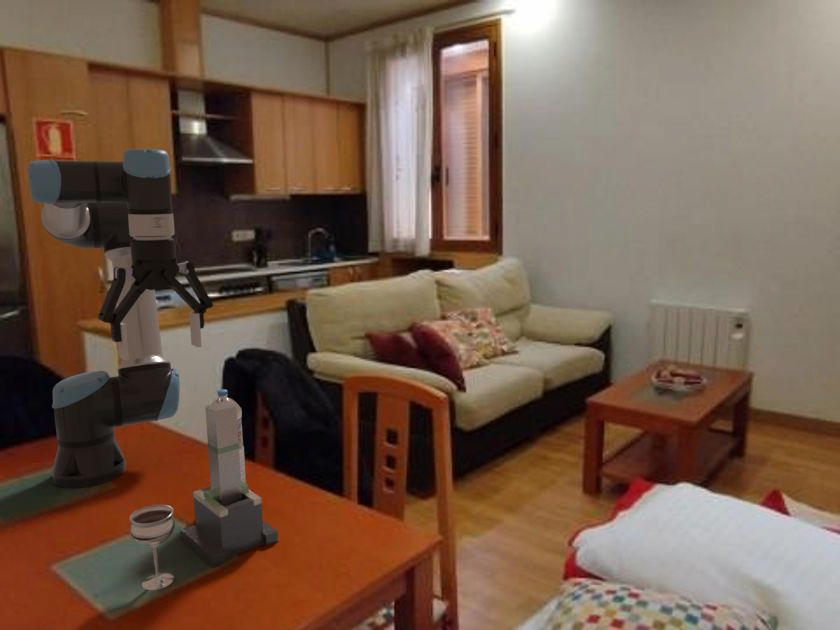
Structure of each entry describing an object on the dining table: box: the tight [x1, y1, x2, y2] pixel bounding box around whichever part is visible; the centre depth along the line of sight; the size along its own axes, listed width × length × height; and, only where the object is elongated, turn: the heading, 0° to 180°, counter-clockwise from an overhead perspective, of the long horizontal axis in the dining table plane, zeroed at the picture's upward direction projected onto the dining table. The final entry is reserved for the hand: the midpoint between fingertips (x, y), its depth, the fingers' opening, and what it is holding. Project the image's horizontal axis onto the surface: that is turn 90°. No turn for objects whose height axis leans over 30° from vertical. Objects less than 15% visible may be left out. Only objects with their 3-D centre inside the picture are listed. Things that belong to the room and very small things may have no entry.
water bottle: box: [211, 388, 247, 484], centre depth 131 cm, size 7×7×25 cm
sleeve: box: [180, 485, 279, 568], centre depth 120 cm, size 13×13×9 cm
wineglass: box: [129, 504, 176, 591], centre depth 107 cm, size 7×7×12 cm
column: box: [204, 401, 250, 507], centre depth 118 cm, size 7×4×20 cm, turn 132°
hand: (161, 352), depth 121 cm, fingers open, 13 cm apart
